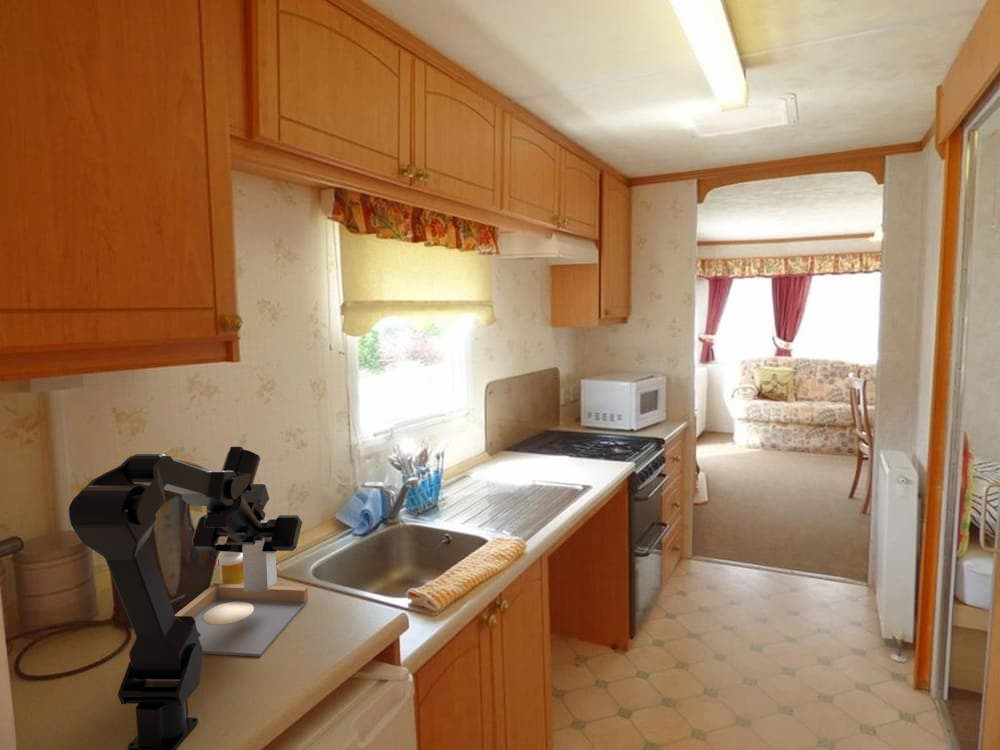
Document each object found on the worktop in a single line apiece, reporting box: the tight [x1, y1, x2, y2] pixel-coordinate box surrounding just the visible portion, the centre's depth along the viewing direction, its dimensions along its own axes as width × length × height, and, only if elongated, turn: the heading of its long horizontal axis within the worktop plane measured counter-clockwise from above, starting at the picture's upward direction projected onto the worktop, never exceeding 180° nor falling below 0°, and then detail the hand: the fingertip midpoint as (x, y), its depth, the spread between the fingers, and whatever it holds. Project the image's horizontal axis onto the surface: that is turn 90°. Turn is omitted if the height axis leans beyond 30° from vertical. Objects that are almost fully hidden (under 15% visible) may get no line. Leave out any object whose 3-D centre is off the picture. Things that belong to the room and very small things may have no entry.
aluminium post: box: [242, 516, 278, 592], centre depth 118 cm, size 4×4×13 cm
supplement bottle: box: [218, 551, 244, 585], centre depth 130 cm, size 5×5×10 cm
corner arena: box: [174, 582, 309, 658], centre depth 115 cm, size 20×20×3 cm
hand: (262, 550), depth 119 cm, fingers closed on aluminium post, 4 cm apart
